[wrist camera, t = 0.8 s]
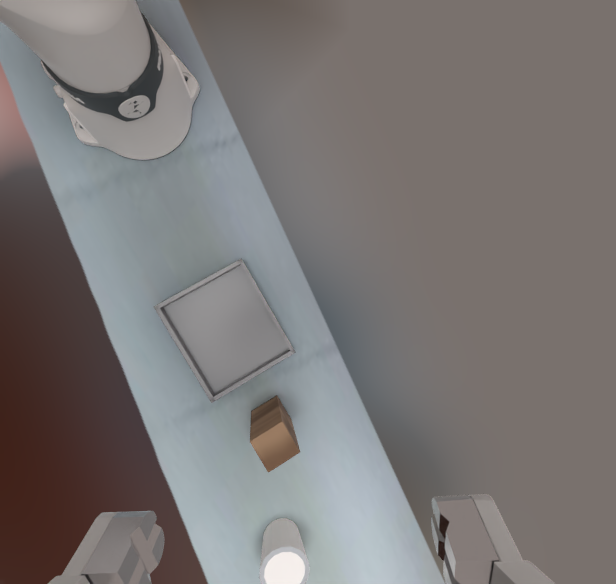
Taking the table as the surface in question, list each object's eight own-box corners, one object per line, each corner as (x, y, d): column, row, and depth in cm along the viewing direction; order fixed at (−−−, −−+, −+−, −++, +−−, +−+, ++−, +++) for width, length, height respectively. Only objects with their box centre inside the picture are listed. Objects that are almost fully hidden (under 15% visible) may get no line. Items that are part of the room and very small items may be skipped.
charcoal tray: (158, 305, 51) (153, 306, 48) (242, 260, 52) (241, 258, 50) (213, 397, 52) (211, 402, 49) (294, 349, 54) (295, 352, 51)
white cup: (289, 505, 53) (294, 536, 46) (311, 541, 54) (319, 577, 47) (250, 531, 52) (249, 567, 45) (272, 567, 53) (275, 609, 46)
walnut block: (251, 411, 53) (249, 441, 42) (277, 395, 53) (282, 421, 42) (266, 435, 53) (268, 472, 42) (291, 419, 53) (300, 452, 43)
